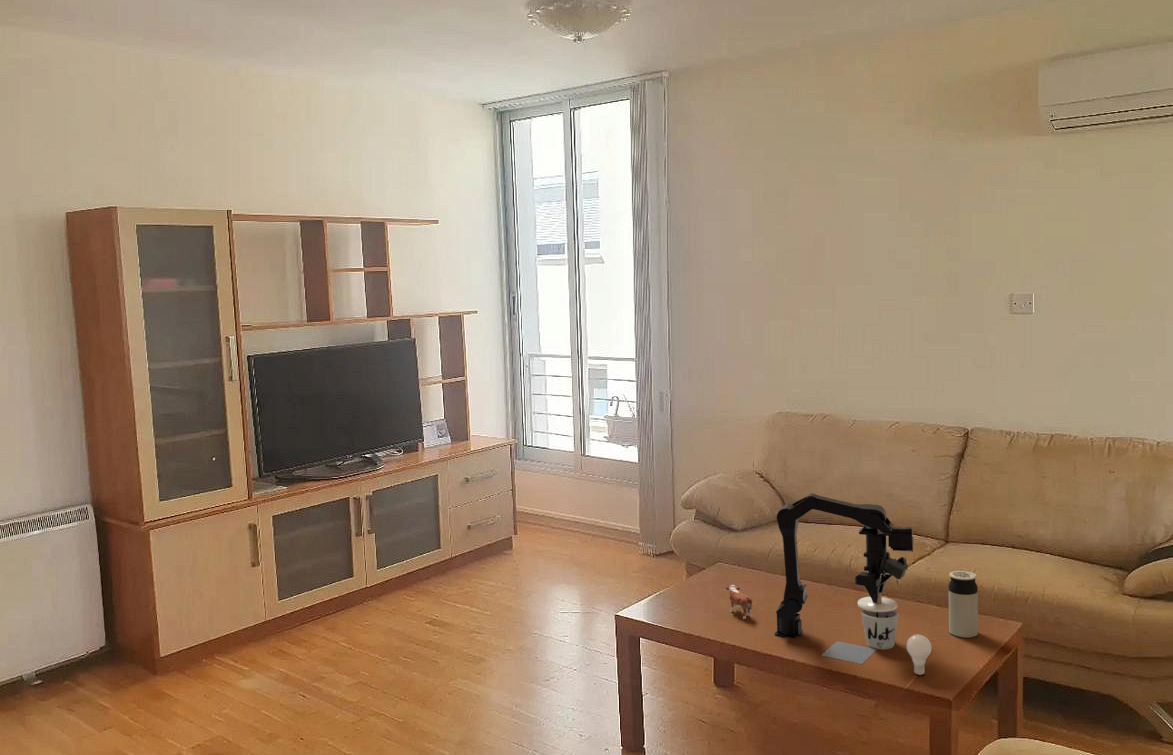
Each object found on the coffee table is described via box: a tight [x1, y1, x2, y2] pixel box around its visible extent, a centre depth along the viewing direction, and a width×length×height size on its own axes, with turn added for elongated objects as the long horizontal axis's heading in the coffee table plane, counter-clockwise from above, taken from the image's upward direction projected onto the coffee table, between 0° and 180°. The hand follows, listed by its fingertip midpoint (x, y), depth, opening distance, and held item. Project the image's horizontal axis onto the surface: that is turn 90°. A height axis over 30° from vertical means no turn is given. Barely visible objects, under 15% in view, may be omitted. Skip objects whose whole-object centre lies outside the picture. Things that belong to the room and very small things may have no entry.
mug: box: [860, 609, 900, 650], centre depth 270 cm, size 10×15×10 cm
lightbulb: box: [905, 634, 932, 676], centre depth 247 cm, size 6×6×11 cm
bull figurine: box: [725, 584, 753, 620], centre depth 298 cm, size 4×13×8 cm, turn 18°
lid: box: [857, 592, 898, 612], centre depth 269 cm, size 11×11×4 cm
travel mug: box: [948, 570, 979, 639], centre depth 273 cm, size 8×8×18 cm
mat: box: [820, 640, 878, 665], centre depth 263 cm, size 12×12×1 cm
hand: (877, 601), depth 269 cm, fingers closed on lid, 3 cm apart
